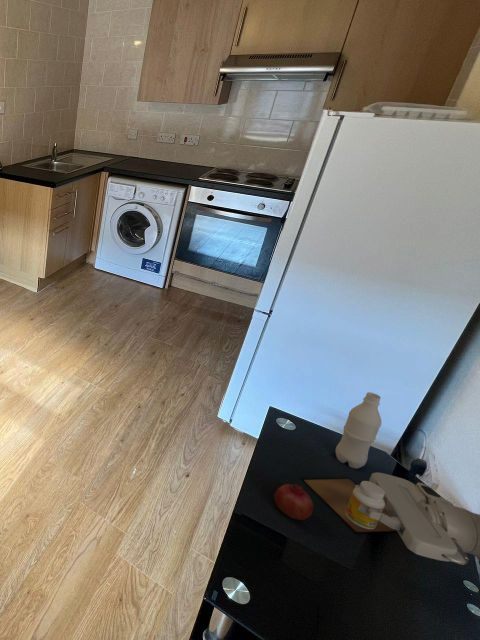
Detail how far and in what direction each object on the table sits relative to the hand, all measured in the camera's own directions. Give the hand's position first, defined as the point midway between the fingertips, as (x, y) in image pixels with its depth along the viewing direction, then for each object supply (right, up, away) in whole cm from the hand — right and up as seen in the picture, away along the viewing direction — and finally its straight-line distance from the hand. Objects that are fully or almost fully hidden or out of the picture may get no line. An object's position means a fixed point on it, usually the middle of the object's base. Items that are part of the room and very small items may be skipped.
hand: (362, 500), depth 94 cm
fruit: (-5, -13, +15) cm, 20 cm away
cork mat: (+14, -12, +18) cm, 26 cm away
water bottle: (+28, -8, +33) cm, 44 cm away
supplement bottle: (+1, -6, +1) cm, 6 cm away
